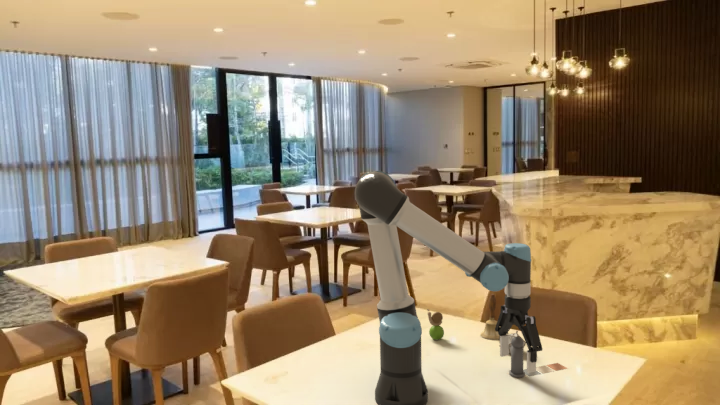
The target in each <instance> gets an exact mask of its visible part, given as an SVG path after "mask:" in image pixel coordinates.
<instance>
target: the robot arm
mask: <svg viewBox="0 0 720 405" xmlns="http://www.w3.org/2000/svg"><path fill="white" fill-rule="evenodd" d="M354 188H355V189H354V199H355V201H356V203H357V205H358V207H359V214H360V219H361V220H362V221H363V222H364V223H366V225H367V229H368V230H367V231H368V234H369V241H370V242H369V243H370V246H371V247H370V248H371V251H372V252H371V253H372V258H373V264H374V270H375V275H376V280H377V286H378V292H379V293H378V294H379V297H380V299H379V302H377V304H376V308H377V314H378V321H379V328H378V334H379V352H380V353H379V354H380V356H379V358H380V359H379V360H380V362H379V363H380V374H379V377H378V379H377V383H376V386H375V390H374V401H375V402H376V403H377V405H426V404H427V403H428V402H429V401H428V400H429V390H428V388H427V385H426V381H425V379H424V375H423V372H422V370H423V369H422V333H423V331H422V330H423V329H422V326H421V325H422V324H421V320H419V316H418V314H417V309H416V302H415V299H414V298H413V297H412V296H410V295H409V291H408V285H407V279H406V275H405V274H406V272H405V268H404V262H403V256H402V255H403V254H402V251H401V250H402V249H401V245H400V240H399V239H400V238H399V234H398V228H399V229H400V230H402V231H403V232H405V233H406V234H408V235H409V236H411V237H412V238H414V239H415V240H416V241H418V242H419V243H421V244H423V245H424V246H426V247H427V248H428V249H430V250H431V251H432V252H434V253H435V254H437V255H438V256H440V257H442V258H444V260H446V261H447V262H449V263H451V264H453V265H454V266H455V267H457V268H458V269H460V270H461V271H462V272H464V274H465V276H466V277H469V278H471V277H472V278H473V279H474V280H475V281H477V282H479V283H480V284H481V286H482V287H484V288H485V289H486V290H488V291H491V292H499V291H501V290H503V289H504V294H505V295H504V304H503V305H501V306H500V312H499V315H498V318H497V320H496V321H497V324H496V327H495V331H496V332H497V331H498V334H499V335H500V339H499V357H501V358H502V357H503V358H504V357H508V356H509V355H510V354H509V335H506V334H510V333H509V332H510V329H511V328H513V325H514V326H515V327H517V328H518V330H519V331H520V332H521V335H522V336H523V337H522V338H523V340H524V341H525V342H526V344H525V345H526V346H527V350H526V369H527V372H528V373H530V372H535V371H537V370H536V367H537V362H538V352H542V351H543V345H542V342H541V339H540V335H539V332H538V327H537V321H536V320H537V319H536V316H535V315H533V316H532V315H531V316H529V313H528V312H529V310H530V309H531V305H532V304H531V301H532V300H531V299H532V298H531V296H530V295H531V294H532V293H531V291H532V290H531V278H532V277H531V274H532V273H531V272H532V271H531V270H532V256H531V255H532V254H531V247H530V246H529V245H527V244H525V243H520V242H519V243H514V242H513V243H512V242H511V243H506V244H505V245H504V248H503V250H499V251H496V250H495V251H482V250H481V249H480V248H478V247H477V246H475V245H474V244H473V243H471V242H469V241H468V240H466V239H465V238H464V237H462V236H460V235H459V234H457V233H456V232H455V231H453V230H451V229H450V228H449V227H447V226H446V225H444V224H443V223H441V222H440V221H439V220H437V219H435V218H434V217H432V216H431V215H429V214H428V213H426V212H425V211H424V210H422V209H421V208H419V207H417V206H416V205H415V204H413V203H412V202H411V201H410V198H409V196H408V195H407V194H405V193H403V192H402V191H401V190H400V189H398V186H396V182H394V179H393V178H392V176H390V175H389V174H388V173H386V172H384V171H382V170H372V171H368V172H366V173H364V174H363V175H362V176H361V177H360V178H359V180H358V181H357V183H356V185H355V187H354Z"/></svg>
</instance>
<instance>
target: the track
mask: <svg viewBox="0 0 720 405" xmlns="http://www.w3.org/2000/svg"><path fill="white" fill-rule="evenodd" d="M566 369H567V370H568V367H566V366H565V365H562V364H561V363H559V362H554V363H551V364H545V365H541V366H536V371H535V372H530V373H528V372H527V368H525V369H523V371H524V372H525V377H523V378H529V377H533V376H538V375H542V374H548V373H552V372H553V373H554V372H555V371H557V372H558V371H563V370H566ZM506 375H508V376H510V375H509V372H506ZM512 378H513V379H514V380H518V379H520V378H514V377H512ZM523 378H522V379H523Z"/></svg>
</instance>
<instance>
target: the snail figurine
mask: <svg viewBox="0 0 720 405" xmlns="http://www.w3.org/2000/svg"><path fill="white" fill-rule="evenodd" d="M430 311H431V310H430V309H427V318H428V320H429V323H430V325H431V327H430V328H429V331H428V334H429V337H430V338H431V339H433V340H435V341H438V340H441V339H442V338H444V335H445V331H444V328H443V327H442V326H441V325H442V324H443V317H444V316H443V313H442V312H440V311H436V312H434V313H433V314H432V312H430Z"/></svg>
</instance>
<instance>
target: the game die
mask: <svg viewBox="0 0 720 405" xmlns="http://www.w3.org/2000/svg"><path fill="white" fill-rule="evenodd" d="M518 332H519V331H518V330H516V331H515V332H514V333H509V334H506V335H509V355H510V356H511V345H512V344H511V340H512V339H513V338H514V337H520V338H522V337H521V336H520V334H518ZM522 340H523V350H524V348H525V346H526V345H527V344H526V342H525V339H524V338H522Z"/></svg>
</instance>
